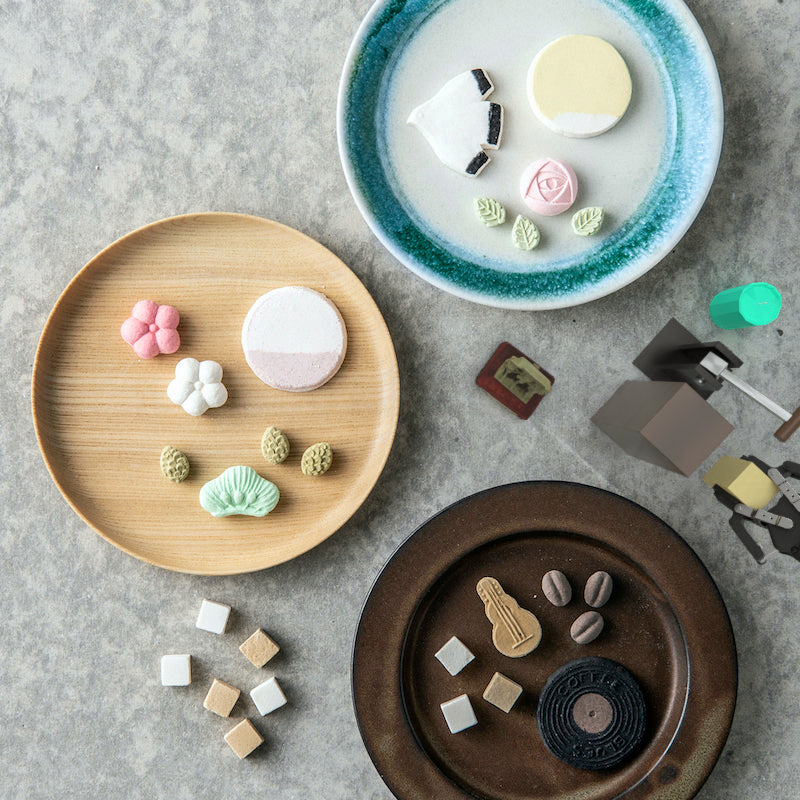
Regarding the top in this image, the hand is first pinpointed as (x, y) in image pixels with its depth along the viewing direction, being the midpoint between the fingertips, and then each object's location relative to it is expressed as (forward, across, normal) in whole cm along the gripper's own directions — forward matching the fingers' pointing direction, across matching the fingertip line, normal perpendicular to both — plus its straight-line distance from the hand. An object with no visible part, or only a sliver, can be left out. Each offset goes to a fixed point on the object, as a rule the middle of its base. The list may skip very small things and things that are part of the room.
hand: (729, 473), depth 92 cm
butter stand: (+19, +1, +4) cm, 19 cm away
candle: (+19, -21, +4) cm, 28 cm away
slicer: (+18, -10, +4) cm, 21 cm away
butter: (+1, 0, +4) cm, 4 cm away
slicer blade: (+5, -10, -1) cm, 11 cm away
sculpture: (+31, +9, -8) cm, 33 cm away
